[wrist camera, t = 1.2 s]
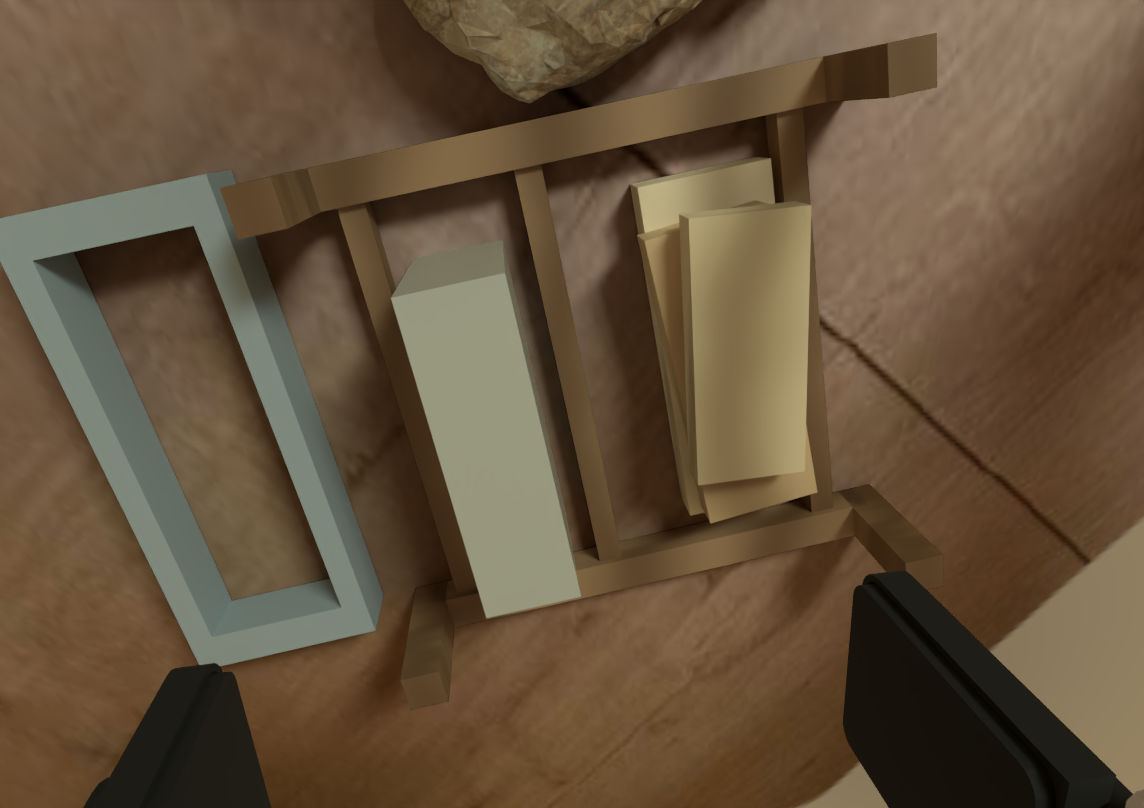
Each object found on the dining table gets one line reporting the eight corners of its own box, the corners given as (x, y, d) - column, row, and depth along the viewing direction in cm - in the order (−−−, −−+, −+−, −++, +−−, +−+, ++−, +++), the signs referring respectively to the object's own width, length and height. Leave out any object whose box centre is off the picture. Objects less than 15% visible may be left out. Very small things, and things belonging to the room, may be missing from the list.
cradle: (231, 169, 27) (206, 174, 24) (383, 595, 34) (375, 630, 31) (26, 213, 26) (-20, 222, 24) (222, 632, 33) (202, 670, 31)
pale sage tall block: (502, 238, 29) (504, 272, 22) (564, 503, 33) (581, 596, 26) (414, 258, 28) (390, 297, 22) (488, 520, 33) (486, 618, 26)
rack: (845, 51, 27) (936, 32, 22) (870, 512, 35) (943, 586, 29) (276, 175, 27) (219, 187, 21) (424, 614, 34) (410, 710, 29)
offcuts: (761, 155, 28) (807, 160, 24) (792, 472, 33) (835, 522, 29) (622, 186, 28) (644, 196, 24) (674, 499, 33) (700, 553, 29)
